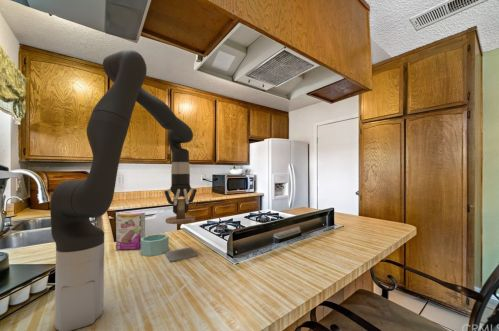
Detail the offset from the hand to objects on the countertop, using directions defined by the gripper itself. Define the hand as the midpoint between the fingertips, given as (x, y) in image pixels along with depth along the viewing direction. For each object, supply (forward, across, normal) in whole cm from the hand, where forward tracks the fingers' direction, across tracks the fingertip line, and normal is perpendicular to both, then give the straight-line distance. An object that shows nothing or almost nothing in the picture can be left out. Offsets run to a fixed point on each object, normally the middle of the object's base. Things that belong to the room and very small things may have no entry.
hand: (180, 213), depth 90 cm
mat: (+18, 0, 0) cm, 18 cm away
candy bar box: (+18, -18, +21) cm, 33 cm away
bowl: (+18, -9, +11) cm, 23 cm away
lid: (+3, 0, 0) cm, 3 cm away
